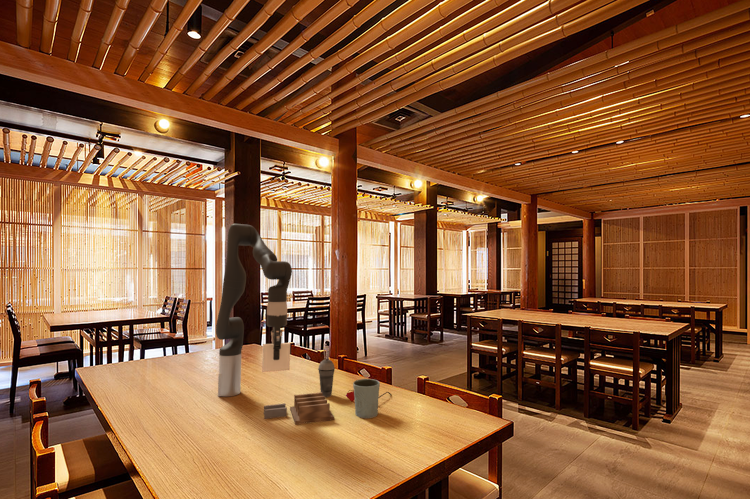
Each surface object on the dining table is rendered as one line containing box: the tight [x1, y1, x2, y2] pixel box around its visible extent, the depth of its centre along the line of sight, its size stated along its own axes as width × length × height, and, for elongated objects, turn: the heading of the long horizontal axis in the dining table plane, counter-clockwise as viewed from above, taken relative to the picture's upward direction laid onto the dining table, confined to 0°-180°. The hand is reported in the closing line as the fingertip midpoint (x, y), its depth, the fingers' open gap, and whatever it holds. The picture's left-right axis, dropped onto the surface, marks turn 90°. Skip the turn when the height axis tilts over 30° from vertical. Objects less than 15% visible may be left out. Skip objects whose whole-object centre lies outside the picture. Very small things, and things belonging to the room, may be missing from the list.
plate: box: [261, 342, 291, 373], centre depth 148 cm, size 10×2×10 cm, turn 109°
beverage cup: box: [317, 348, 336, 398], centre depth 170 cm, size 7×7×20 cm
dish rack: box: [289, 391, 335, 426], centre depth 148 cm, size 14×15×6 cm
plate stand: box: [263, 402, 288, 420], centre depth 147 cm, size 8×5×3 cm
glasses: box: [345, 389, 392, 402], centre depth 168 cm, size 14×16×5 cm
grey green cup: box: [352, 378, 381, 419], centre depth 149 cm, size 10×10×12 cm
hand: (276, 358), depth 148 cm, fingers closed on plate, 2 cm apart
